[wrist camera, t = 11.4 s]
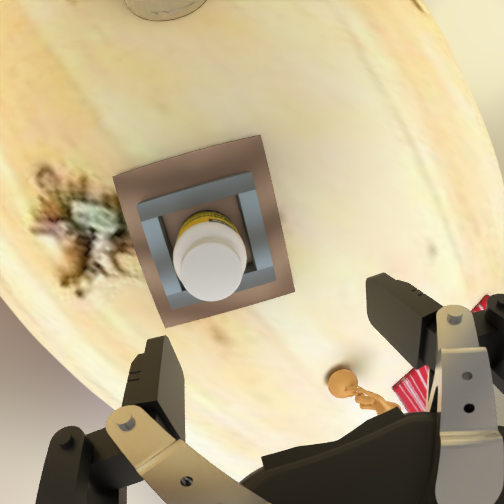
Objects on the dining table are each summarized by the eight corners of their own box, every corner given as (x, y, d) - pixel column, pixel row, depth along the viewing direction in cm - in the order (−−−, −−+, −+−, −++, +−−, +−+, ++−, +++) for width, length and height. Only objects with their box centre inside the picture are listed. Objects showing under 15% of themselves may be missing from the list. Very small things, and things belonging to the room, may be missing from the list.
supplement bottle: (237, 208, 28) (257, 232, 19) (235, 264, 30) (252, 312, 20) (178, 207, 27) (168, 232, 18) (178, 264, 29) (171, 313, 20)
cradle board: (116, 176, 27) (104, 178, 23) (257, 136, 28) (266, 132, 24) (166, 321, 32) (163, 341, 28) (290, 286, 33) (302, 302, 29)
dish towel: (493, 342, 47) (501, 348, 44) (413, 420, 48) (419, 429, 45) (485, 289, 41) (496, 294, 38) (388, 384, 42) (396, 394, 40)
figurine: (311, 366, 37) (348, 433, 26) (350, 339, 37) (397, 398, 26) (336, 397, 40) (371, 456, 29) (370, 373, 40) (412, 427, 28)
